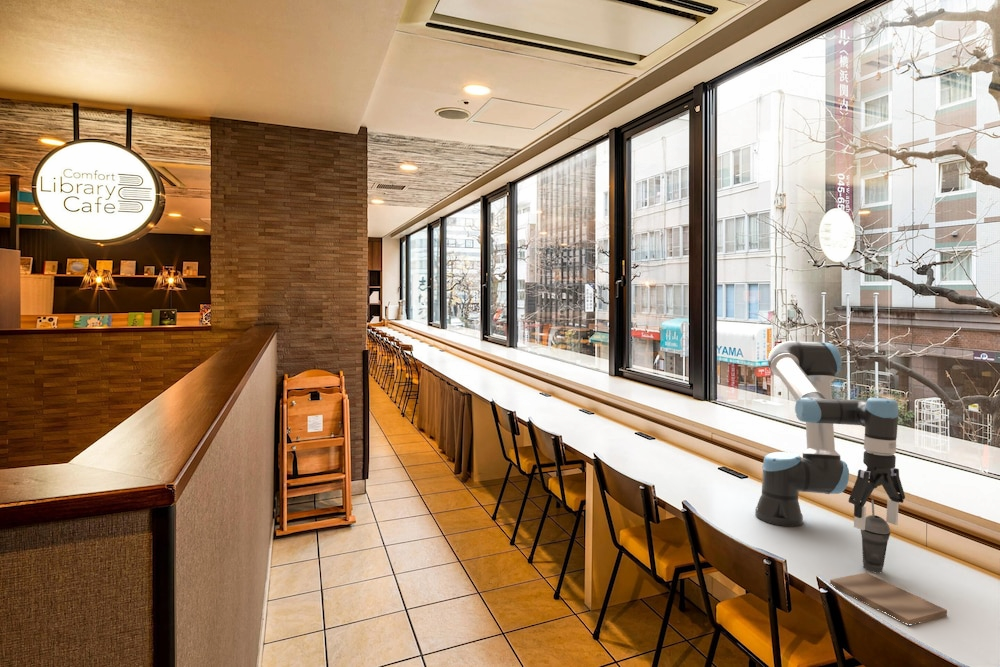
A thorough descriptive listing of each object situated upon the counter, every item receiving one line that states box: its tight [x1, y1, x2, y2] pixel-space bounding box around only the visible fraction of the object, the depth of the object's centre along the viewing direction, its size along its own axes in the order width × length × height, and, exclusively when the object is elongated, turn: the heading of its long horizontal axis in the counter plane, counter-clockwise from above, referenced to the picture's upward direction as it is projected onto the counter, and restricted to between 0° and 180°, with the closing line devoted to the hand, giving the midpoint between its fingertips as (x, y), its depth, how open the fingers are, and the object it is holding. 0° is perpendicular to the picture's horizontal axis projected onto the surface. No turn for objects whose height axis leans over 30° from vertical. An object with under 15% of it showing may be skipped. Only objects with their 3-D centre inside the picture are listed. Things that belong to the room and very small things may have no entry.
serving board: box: [829, 572, 948, 625], centre depth 139 cm, size 20×14×2 cm
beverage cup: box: [860, 499, 891, 574], centre depth 156 cm, size 7×7×20 cm
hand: (875, 525), depth 156 cm, fingers open, 13 cm apart
